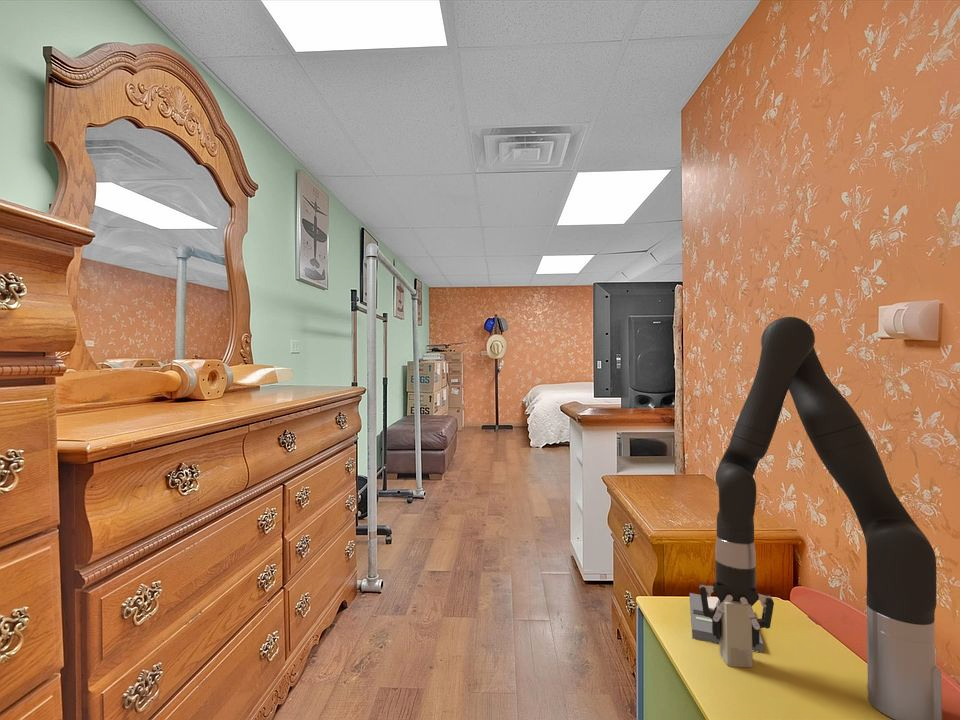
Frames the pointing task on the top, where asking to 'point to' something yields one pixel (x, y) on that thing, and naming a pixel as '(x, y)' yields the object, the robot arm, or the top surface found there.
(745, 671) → the top surface
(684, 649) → the top surface
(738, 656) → the box
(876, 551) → the robot arm
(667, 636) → the top surface
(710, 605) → the switch board
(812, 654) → the top surface
